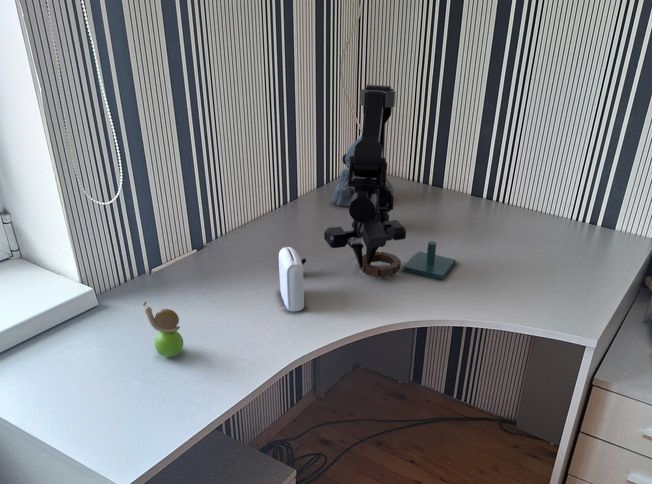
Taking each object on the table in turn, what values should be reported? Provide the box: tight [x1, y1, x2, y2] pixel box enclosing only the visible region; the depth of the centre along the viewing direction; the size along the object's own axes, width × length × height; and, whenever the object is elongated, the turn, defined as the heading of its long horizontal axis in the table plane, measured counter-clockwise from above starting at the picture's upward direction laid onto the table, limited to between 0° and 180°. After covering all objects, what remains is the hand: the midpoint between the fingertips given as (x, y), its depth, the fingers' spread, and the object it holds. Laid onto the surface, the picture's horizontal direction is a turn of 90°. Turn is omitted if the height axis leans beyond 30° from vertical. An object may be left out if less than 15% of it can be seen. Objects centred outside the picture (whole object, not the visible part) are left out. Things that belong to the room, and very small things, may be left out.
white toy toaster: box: [278, 246, 305, 313], centre depth 153 cm, size 10×4×12 cm, turn 17°
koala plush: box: [331, 132, 394, 207], centre depth 206 cm, size 17×18×20 cm
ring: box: [358, 251, 402, 278], centre depth 168 cm, size 10×10×2 cm
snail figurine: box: [142, 300, 184, 358], centre depth 133 cm, size 5×6×12 cm
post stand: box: [403, 240, 456, 281], centre depth 171 cm, size 10×10×7 cm
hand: (364, 266), depth 167 cm, fingers closed on ring, 2 cm apart
